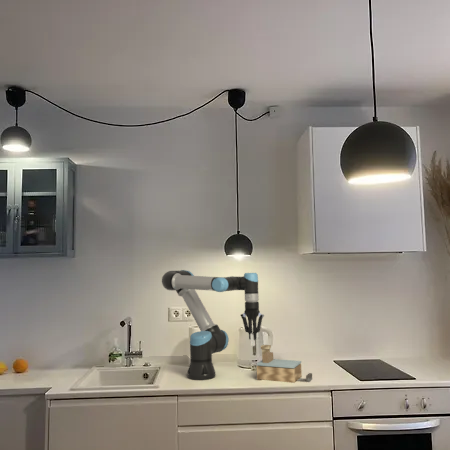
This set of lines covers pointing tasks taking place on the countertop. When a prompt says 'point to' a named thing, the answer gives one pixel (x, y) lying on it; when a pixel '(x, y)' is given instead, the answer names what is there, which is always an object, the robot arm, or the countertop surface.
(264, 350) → the beige wooden tall block
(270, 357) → the lid
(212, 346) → the robot arm
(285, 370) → the toolbox
